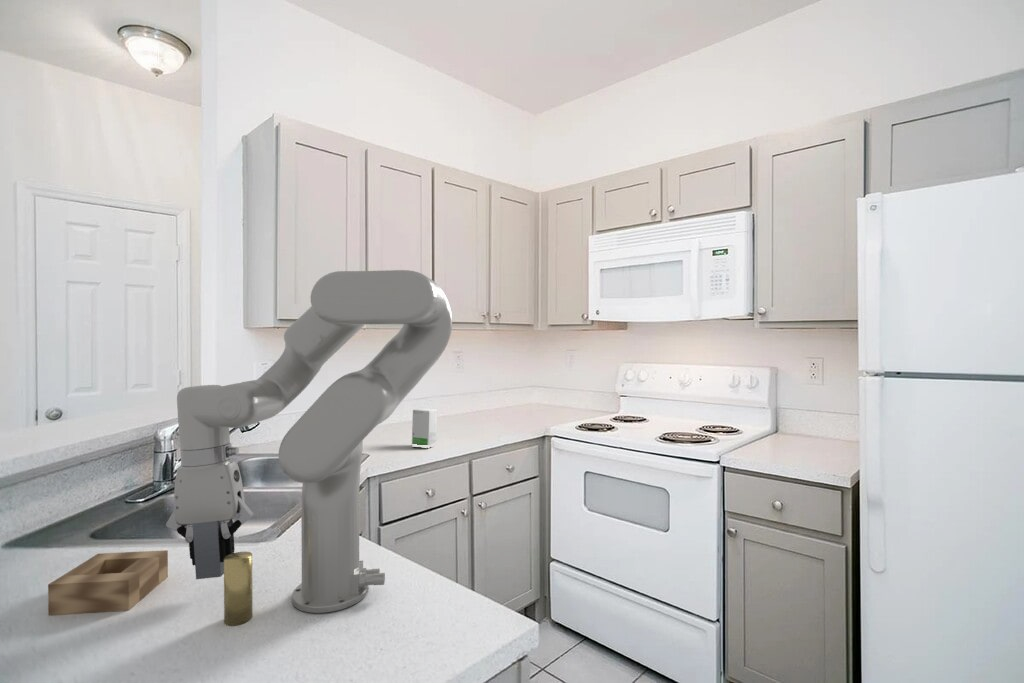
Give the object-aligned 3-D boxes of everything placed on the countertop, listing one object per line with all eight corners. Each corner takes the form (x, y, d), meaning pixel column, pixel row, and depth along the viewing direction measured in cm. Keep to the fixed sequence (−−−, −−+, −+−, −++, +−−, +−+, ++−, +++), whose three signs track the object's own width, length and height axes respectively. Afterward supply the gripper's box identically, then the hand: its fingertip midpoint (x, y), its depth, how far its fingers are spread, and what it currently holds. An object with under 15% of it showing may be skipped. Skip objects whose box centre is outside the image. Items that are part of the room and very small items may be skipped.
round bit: (256, 611, 85) (256, 550, 85) (246, 625, 81) (246, 561, 81) (230, 613, 84) (230, 552, 84) (219, 626, 80) (219, 562, 80)
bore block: (167, 576, 97) (167, 550, 97) (128, 610, 85) (128, 580, 85) (98, 580, 95) (97, 553, 95) (48, 615, 83) (48, 584, 83)
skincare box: (411, 447, 210) (411, 409, 210) (420, 444, 216) (420, 407, 216) (429, 449, 207) (429, 410, 207) (437, 446, 213) (437, 408, 213)
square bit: (230, 566, 92) (227, 511, 92) (220, 576, 88) (217, 518, 88) (206, 569, 92) (203, 513, 92) (196, 579, 88) (192, 521, 88)
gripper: (264, 447, 95) (270, 546, 95) (166, 455, 93) (173, 557, 93) (248, 456, 87) (255, 564, 87) (141, 465, 85) (149, 575, 85)
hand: (212, 559), depth 90 cm, fingers closed on square bit, 4 cm apart
